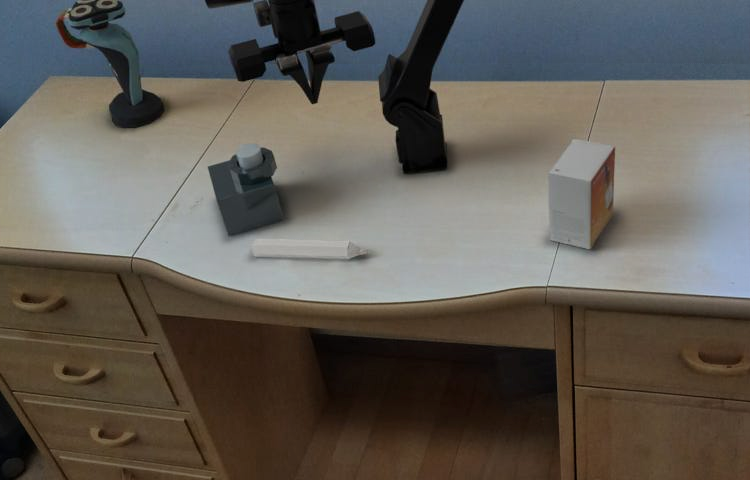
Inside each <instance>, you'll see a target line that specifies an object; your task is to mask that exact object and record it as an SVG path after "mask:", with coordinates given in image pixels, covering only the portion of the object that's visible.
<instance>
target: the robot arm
mask: <svg viewBox="0 0 750 480" xmlns="http://www.w3.org/2000/svg"><path fill="white" fill-rule="evenodd" d="M204 2H205V5H206V6H207V8H208V9H209V10H211V9H218V8H223V7H230V6H236V5H243V4H248V3H252V5H253V9H254V14H255V17H256V21H257V24H258V27H260V28H263V27H268V26H270V25H271V29H272V33H273V36H274V38H275V39H276V40H277V43H274V44H269V45H265V46H262V47H260V46H259V44H258V41H257V39H256V38H253V39H249V40H245V41H243V42H238V43H234V44H231V45H230V47H229V49H228V51H227V52H228V55H229V59H230V62H231V66H232V69H233V72H234V74H235V77H236V80H237V82H240V83H244V82H248V81H252V80H255V79H259V78H262V77H263V76H264V75H265V73H266V72H267V66H266V63H268V62H269V63H270V62H272V61H275V64H276V66H277V67H278V70H279V72H280V74H281V76H282V77H283V76H284V77H286V76H290V77H291V78H292V79H293V81H295V82H296V84H297V85H298V86H299V87H300V88H301V90H302V91H303V94H304V95H305V96H306V98H307V99H308V101H309V102H310V104H311V105H315V104H319V103H318V102H319V99H320V93H321V89H322V84H323V81H324V78H325V76H326V73H327V69H328V67H329V65H332V64H333V63H335V61H336V57H335V56H334V54H333V52H332V50H331V49H333V47H332V45H335V44H338V43H341V42H345V46H346V48H347V49H349V50H351V51H353V52H358V51H361V50H365V49H369V48H371V47H373V46H375V45H376V37H375V32H374V28H373V26H372V24H371V23H370V21H369V20H368V17H366V16H365V14H364V13H363V12H361V11H360V10H358V11H354V12H350V13H347V14H346V13H345V14H342V15H338V16H335V17H334V27H332V28H328V29H321V27H320V22H319V17H318V12H317V7H316V2H315V0H259V1H255V2H254V0H204ZM464 2H465V0H426V2H425V4H424V7H423V9H422V12H421V14H420V16H419V18H418V20H417V23H416V26H415V27H414V30H413V32H412V35H411V38H410V40H409V42H408V44H407V47H406V48H405V50H404V51H403V52H402V53H401V54H400V55H399V56H394V55H392V54H390V53H389V54H387V57H386V62H385V66H384V69H383V70H382V72H381V73H379V75H378V76H377V81H378V91H379V101H380V103H381V110H382V115H383V118H384V119H385V121H386V122H387V123H388V124H389V125H391V126H393V127H396V128H397V130H395V139H394V140H395V145H396V153H397V159H398V163H399V164H400V165H402V166H401V167H402V169H401V170H402V173H403V174H404V175H406V174H407V175H409V174H417V173H427V172H435V171H436V172H437V171H445V170H448V168H449V161H448V143H447V142H446V136H445V129H444V119H443V114H441V111H440V104H439V99H438V94H437V92H436V91H435V90H433V89H432V88H431V82H432V76H433V70H434V68H435V65H436V63H437V61H438V58H439V57H440V54H441V52H442V49H443V47H444V46H445V44H446V41H447V39H448V36H449V34H450V32H451V30H452V28H453V25H454V23H455V21H456V19H457V16H458V14H459V12H460V10H461V8H462V6H463V3H464ZM302 53H305V56H306V62H307V69H308V76H307V75H306V72H305V69H304V67H303V64H302V62H301V60H300V59H299V54H302Z"/></svg>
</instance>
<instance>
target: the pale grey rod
mask: <svg viewBox="0 0 750 480" xmlns="http://www.w3.org/2000/svg"><path fill="white" fill-rule="evenodd" d="M251 250H252V255H253V256H255V257H256V258H285V259H286V258H287V259H319V260H351V259H353V258H355V257H357V256H360V255H361V256H362V255H365V254H368V253H371V251H370V250H367V249H364V248H362V247H359V246H358V245H356V244H354V243H352V242H351V241H350V240H322V239H321V240H319V239H318V240H317V239H282V238H281V239H279V238H254V240H253V242H252V244H251Z"/></svg>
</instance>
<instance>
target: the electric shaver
mask: <svg viewBox="0 0 750 480" xmlns="http://www.w3.org/2000/svg"><path fill="white" fill-rule="evenodd" d="M125 15H126V8H125V5H124V4H123V2H122V1H121V0H76V1H75V3H73V5H72V7H69V8H68V9H66V10H63V11H61V13H60V14H59V17H58V18H57V20H56V21H55V27H56V29H57V31H58V33H59V36H60V37H61V40H62V41H63V42H64V44H65V45H66V46H67V47H69V48H70V49H76V50H77V49H78V50H79V49H86V50H93V49H97V50H98V51H100V53H102V54H103V56H104V57H105V59H106V61H107V63H108V64H109V65H108V66H109V67H110V68H111V71H112V73H113V75H114V77H115V80H116V81H117V83H118V85H119V86H120V88H121V90H122V92H119V93H118V94H116V96H114V98H112V99H111V101H110V103H109V105H108V111H109V113H110V116H111V122H112V123H113V124H114V126H115V127H118V128H121V129H136V128H138V127H139V128H140V127H142V126H145V125H148V124H151V123H153V122H154V121H156V120H157V119H159V118H160V117H161V116H162V115H163V113H164V111H165V110H166V109H165V104H164V102H163V100H162V98H161V97H159V96H158V95H157V94H156V93H153V92H151V91H148V90H145V89H143V88H142V79H141V70H140V69H141V68H140V54H139V50H138V48H137V45H136V43H135V41H134V40H133V36H132V35H131V33H130V31H129V30H127V29H126V28H125V27H123V26H121V25H120V24H119V23H110V22H112V21H115V20H119V19H122V18H123V17H124V16H125ZM65 21H66V22H68V24H69V26H70V27H71V29H75V30H78V31H79V36H80V38H77V37H76V36H74V35H72V34H71V32H70V31H69V29H68V28H67V26H66V24H65Z"/></svg>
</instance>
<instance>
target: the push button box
mask: <svg viewBox="0 0 750 480" xmlns="http://www.w3.org/2000/svg"><path fill="white" fill-rule="evenodd" d="M260 148H261V152H262V155H263V159H264V161H263V163H262V164H261V165H259V166H258V167H255V168H251V169H242V168H241V167H240V166H239V162H238V159H237V156H236V153H235V154H233V155H232V156H231V158H230V159H228V160H226V161H222V162H218V163H215V164H212V165H208V166H207V170H208V173H209V178H210V181H211V185H212V188H213V192H214V196H215V200H216V203H217V206H218V209H219V212H220V216H221V218H222V221H223V225H224V227H225V230H226V233H227V236H228V237H232V236H235V235H238V234H242V233H246V232H249V231H252V230H256V229H259V228H262V227H266V226H270V225H273V224H277V223H280V222H284V221H285V218H284V214H283V210H282V207H281V204H280V200H279V196H278V192H277V188H276V186H275V182H274V179H273V176H274V174H275V172H277V171H276V170H277V169H278V165H277V162H276V158H275V156H274V152H273V151H272V150H271V149H269V148H266V147H264V146H263V147H261V146H260Z"/></svg>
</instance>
